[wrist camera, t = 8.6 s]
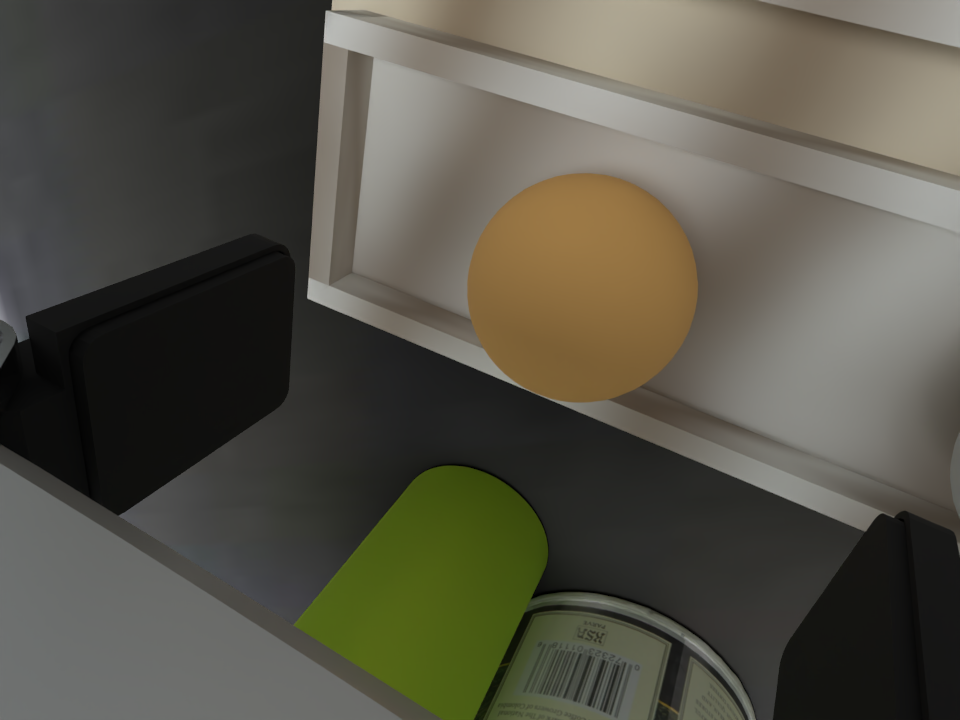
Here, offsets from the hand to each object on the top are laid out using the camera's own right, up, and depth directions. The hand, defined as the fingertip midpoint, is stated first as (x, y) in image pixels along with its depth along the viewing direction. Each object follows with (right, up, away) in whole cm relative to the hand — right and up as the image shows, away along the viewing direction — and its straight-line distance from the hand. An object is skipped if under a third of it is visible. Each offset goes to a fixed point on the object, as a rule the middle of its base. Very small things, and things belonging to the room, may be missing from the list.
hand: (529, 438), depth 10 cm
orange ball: (+3, +4, +7) cm, 8 cm away
